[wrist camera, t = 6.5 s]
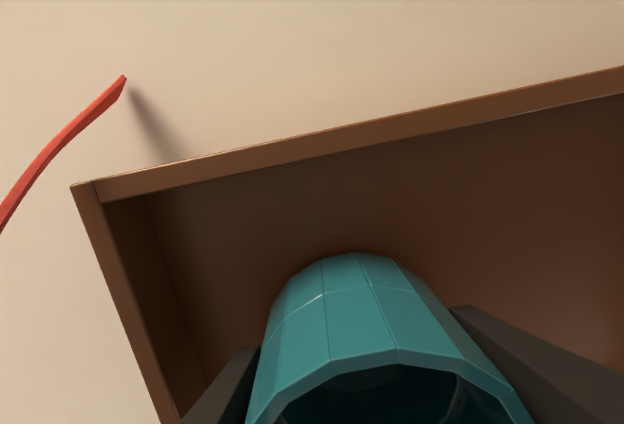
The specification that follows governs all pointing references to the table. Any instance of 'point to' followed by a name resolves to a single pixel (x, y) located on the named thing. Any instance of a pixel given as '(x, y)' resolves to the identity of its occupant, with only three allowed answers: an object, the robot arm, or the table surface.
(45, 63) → the table surface
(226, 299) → the tray
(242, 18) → the table surface
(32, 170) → the red eyeglasses
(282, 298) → the teal hollow cylinder
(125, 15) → the table surface
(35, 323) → the table surface
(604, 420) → the robot arm
